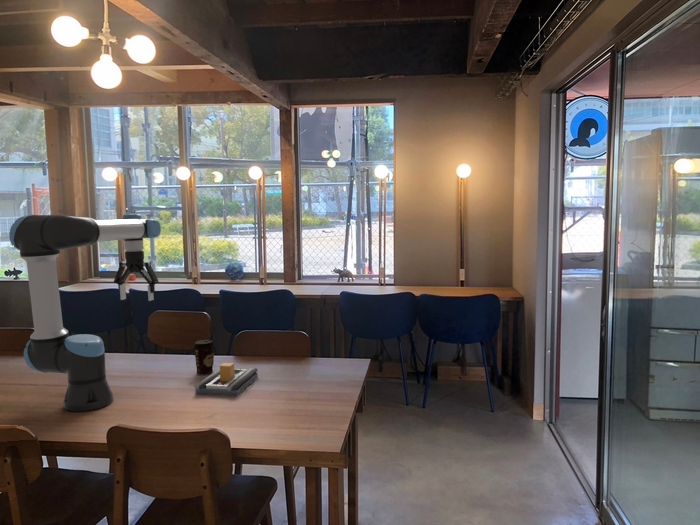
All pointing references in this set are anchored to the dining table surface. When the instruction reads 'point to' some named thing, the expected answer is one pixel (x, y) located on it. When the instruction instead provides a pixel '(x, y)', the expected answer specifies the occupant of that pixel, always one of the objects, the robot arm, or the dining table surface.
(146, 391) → the dining table surface
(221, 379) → the tan rectangular block
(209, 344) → the coffee cup
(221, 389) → the panel
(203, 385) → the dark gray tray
